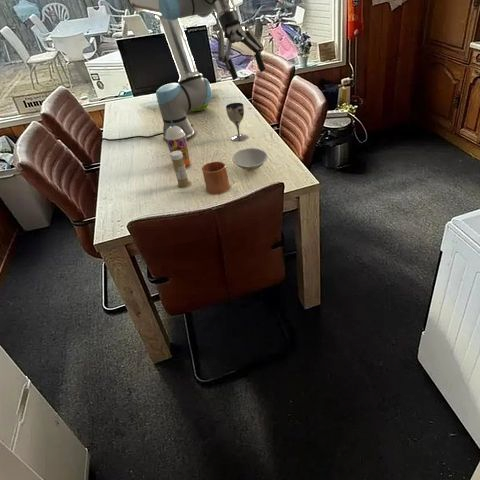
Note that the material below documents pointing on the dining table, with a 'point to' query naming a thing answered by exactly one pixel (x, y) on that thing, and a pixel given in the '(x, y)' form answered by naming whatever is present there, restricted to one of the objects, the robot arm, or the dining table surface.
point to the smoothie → (177, 142)
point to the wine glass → (236, 117)
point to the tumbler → (215, 177)
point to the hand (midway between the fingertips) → (249, 74)
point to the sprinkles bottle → (179, 168)
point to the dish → (249, 158)
